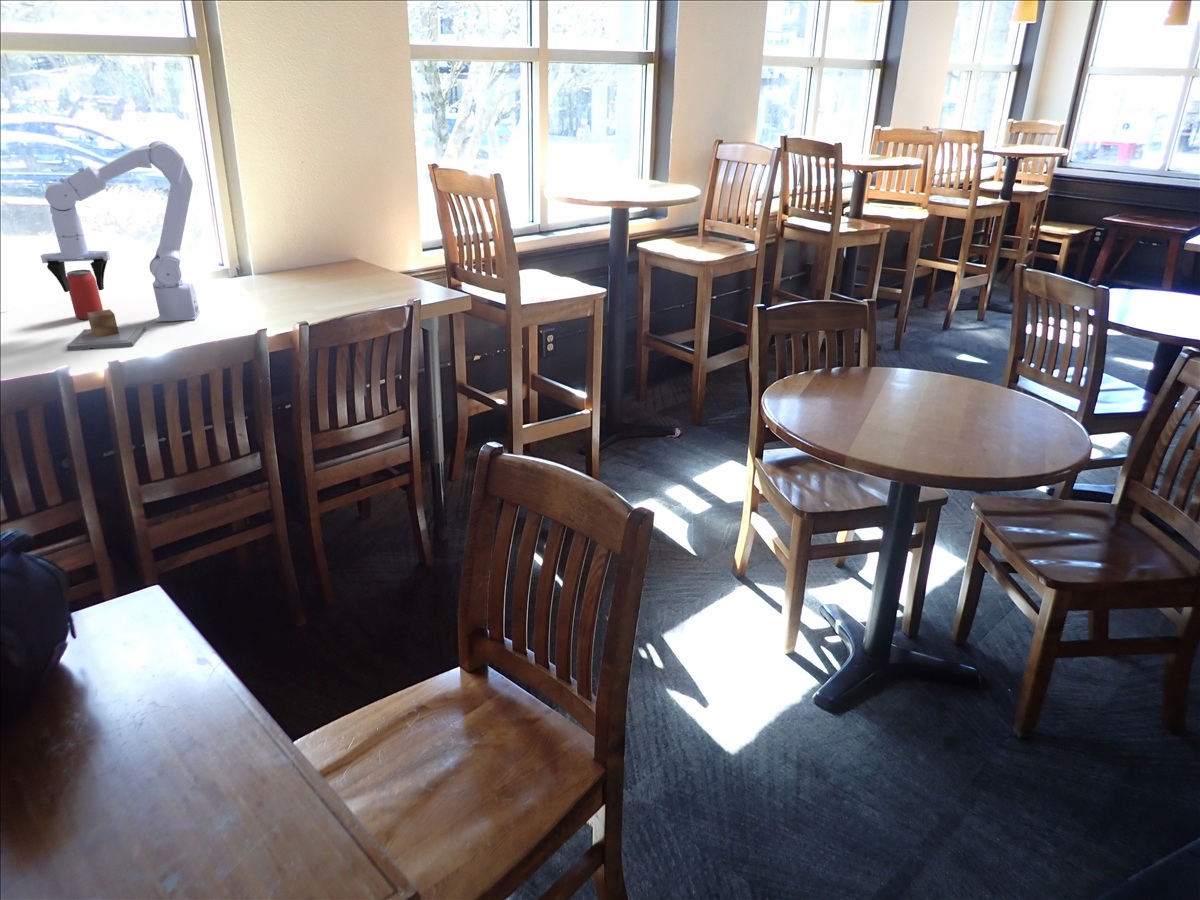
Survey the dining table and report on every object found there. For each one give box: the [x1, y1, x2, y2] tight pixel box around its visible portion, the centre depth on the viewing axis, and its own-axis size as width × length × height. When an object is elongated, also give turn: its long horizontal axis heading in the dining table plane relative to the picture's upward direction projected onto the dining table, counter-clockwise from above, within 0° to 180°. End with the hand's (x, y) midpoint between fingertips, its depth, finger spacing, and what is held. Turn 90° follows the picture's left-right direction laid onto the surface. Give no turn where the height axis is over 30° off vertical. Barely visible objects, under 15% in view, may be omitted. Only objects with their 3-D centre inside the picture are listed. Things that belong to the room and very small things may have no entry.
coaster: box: [66, 325, 147, 351], centre depth 204 cm, size 14×14×1 cm
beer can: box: [66, 269, 104, 321], centre depth 220 cm, size 7×7×12 cm
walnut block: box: [87, 308, 119, 337], centre depth 205 cm, size 5×5×5 cm
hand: (84, 290), depth 209 cm, fingers open, 7 cm apart
